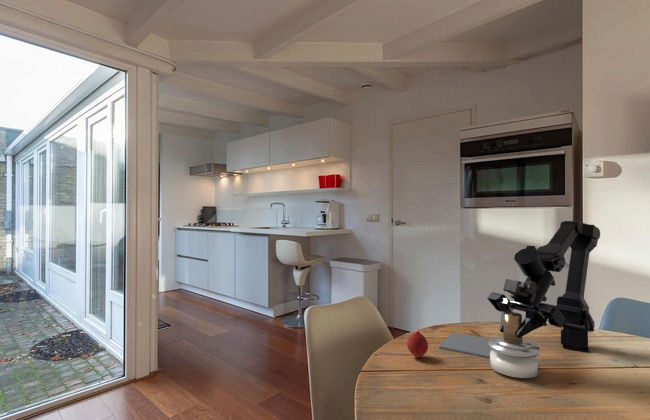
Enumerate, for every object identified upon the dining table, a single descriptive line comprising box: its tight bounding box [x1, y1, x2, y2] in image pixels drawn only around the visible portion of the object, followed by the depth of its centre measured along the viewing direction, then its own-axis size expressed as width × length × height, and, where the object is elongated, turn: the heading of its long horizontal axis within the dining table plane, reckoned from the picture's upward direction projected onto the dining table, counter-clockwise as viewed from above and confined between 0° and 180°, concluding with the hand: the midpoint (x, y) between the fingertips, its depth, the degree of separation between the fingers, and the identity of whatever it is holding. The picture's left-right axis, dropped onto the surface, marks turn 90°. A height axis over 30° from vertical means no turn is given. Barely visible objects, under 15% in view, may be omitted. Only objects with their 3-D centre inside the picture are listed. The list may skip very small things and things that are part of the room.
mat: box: [438, 332, 492, 359], centre depth 110 cm, size 16×16×1 cm
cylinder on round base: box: [488, 311, 541, 358], centre depth 92 cm, size 12×12×9 cm
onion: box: [406, 329, 429, 359], centre depth 101 cm, size 6×6×8 cm
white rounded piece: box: [489, 350, 539, 379], centre depth 91 cm, size 11×11×4 cm
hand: (509, 334), depth 91 cm, fingers closed on cylinder on round base, 4 cm apart
